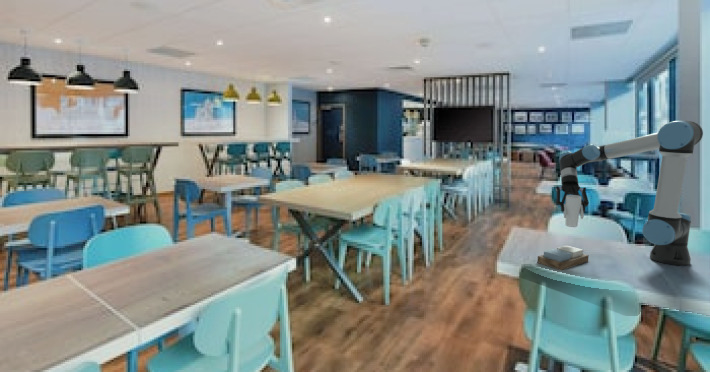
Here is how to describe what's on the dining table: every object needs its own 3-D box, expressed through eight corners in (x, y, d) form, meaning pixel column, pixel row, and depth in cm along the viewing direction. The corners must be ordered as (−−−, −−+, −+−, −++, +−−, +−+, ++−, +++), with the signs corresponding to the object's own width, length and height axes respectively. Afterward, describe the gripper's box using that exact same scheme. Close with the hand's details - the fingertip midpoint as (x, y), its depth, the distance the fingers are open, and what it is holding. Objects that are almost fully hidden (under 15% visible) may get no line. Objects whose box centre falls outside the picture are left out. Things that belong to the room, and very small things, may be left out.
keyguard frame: (588, 261, 190) (588, 255, 189) (561, 270, 179) (561, 263, 178) (564, 254, 199) (564, 248, 199) (537, 262, 188) (537, 256, 188)
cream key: (582, 256, 190) (583, 249, 190) (572, 259, 186) (573, 252, 185) (566, 252, 197) (566, 245, 196) (556, 254, 193) (556, 248, 192)
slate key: (570, 260, 185) (570, 253, 184) (559, 263, 181) (560, 256, 180) (553, 255, 192) (554, 248, 191) (543, 258, 187) (543, 251, 187)
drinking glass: (581, 228, 196) (583, 197, 193) (565, 227, 197) (568, 197, 195) (576, 224, 202) (579, 195, 200) (561, 224, 204) (564, 194, 201)
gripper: (588, 183, 208) (594, 222, 195) (547, 182, 214) (550, 219, 201) (592, 174, 202) (598, 214, 190) (549, 173, 208) (553, 211, 195)
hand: (573, 217), depth 195 cm, fingers closed on drinking glass, 6 cm apart
